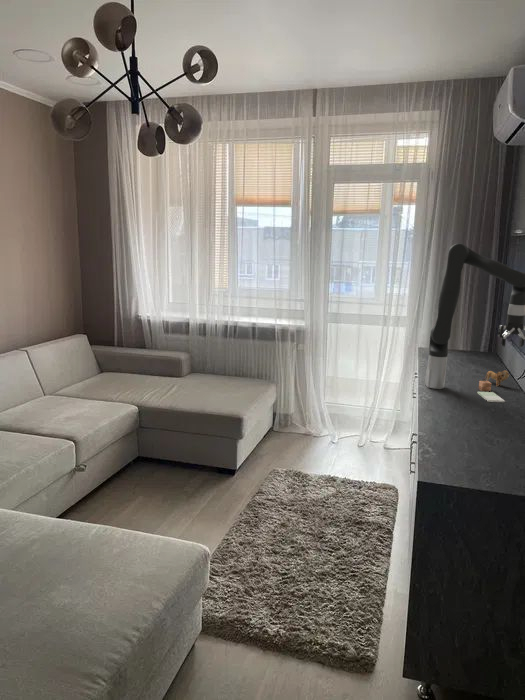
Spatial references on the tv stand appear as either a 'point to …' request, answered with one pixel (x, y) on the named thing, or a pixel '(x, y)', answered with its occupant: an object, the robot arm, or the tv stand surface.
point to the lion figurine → (497, 376)
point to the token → (485, 386)
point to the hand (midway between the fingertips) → (511, 346)
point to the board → (491, 397)
